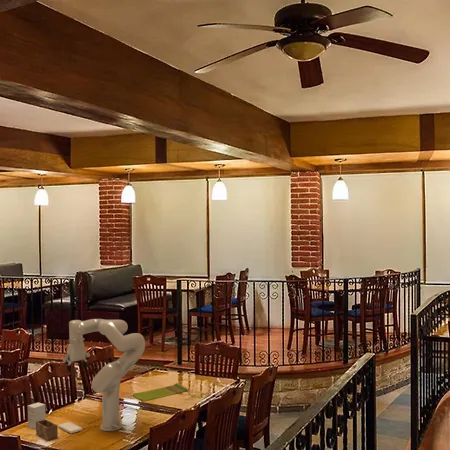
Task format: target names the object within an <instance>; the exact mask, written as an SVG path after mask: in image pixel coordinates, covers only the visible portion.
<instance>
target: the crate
mask: <svg viewBox="0 0 450 450" xmlns="http://www.w3.org/2000/svg"><path fill="white" fill-rule="evenodd" d="M58 428H59V427H58V424H56V423H54V422H53V421H50V420H48V419H46V420H42V421H38V422H36V429H35V431H36V432H35V435H36V436H38V437H39V438H41V439H43V440H45V441H47V442H49V441H53V440H56V439H58V438H59V434H58V432H59V431H58V430H59V429H58Z"/></svg>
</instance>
